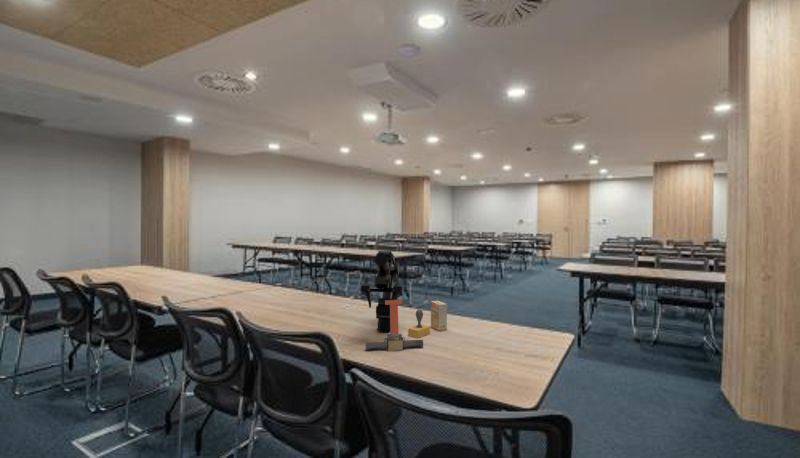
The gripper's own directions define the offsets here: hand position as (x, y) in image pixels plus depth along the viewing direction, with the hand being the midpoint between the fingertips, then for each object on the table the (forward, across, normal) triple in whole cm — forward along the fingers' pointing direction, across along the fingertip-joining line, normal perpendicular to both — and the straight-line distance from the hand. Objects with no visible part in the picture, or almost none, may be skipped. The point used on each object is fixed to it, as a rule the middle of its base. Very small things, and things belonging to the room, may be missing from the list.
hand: (380, 308), depth 169 cm
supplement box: (0, +26, +28) cm, 38 cm away
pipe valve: (+17, +7, +2) cm, 18 cm away
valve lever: (+12, +7, -1) cm, 14 cm away
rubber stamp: (+6, +16, +19) cm, 26 cm away
